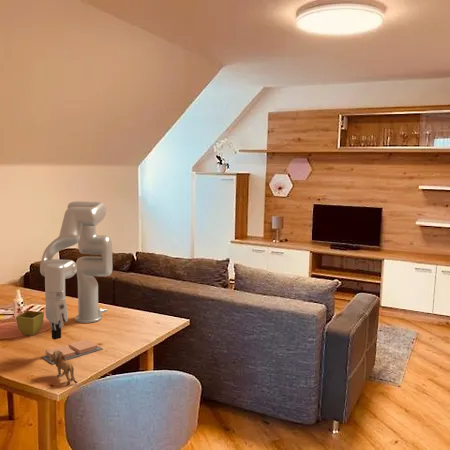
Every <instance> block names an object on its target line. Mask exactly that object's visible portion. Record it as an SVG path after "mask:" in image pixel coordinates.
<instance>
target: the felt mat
mask: <svg viewBox="0 0 450 450" xmlns="http://www.w3.org/2000/svg"><path fill="white" fill-rule="evenodd" d="M102 350H104V348H103V347H101V346H99V345H97V349H95V350H92V351H89V352H85V353H82V354H79V353H77V352H75V356H72V357H69V358H66V359H67V361H70V360H73V359H77V358H79V357H82V356H86V355H89V354H92V353H96V352H99V351H102ZM73 351H74V350H73ZM41 358H42V359H43V360H44V361H46V362H48V363H49V364H51V365H52V366H53V365H56V364H55V363H54V361H53V362H51V361H50V359H49V356H48V355H46V354H45V355H43V356H41Z"/></svg>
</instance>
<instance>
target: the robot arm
mask: <svg viewBox="0 0 450 450" xmlns="http://www.w3.org/2000/svg"><path fill="white" fill-rule="evenodd" d="M106 213H107V208H106V206H105V204H104V202H101V201H82V200H81V201H78V200H77V201H71V202H69V203H68V204H67V209H66V210H65V212H64V215H63V218H62V224H61V228H60V231H59V235H58V237H56V238H55V239H53V241H51V242H50V243H49V244H48V245H47V246H46V247H45V249H44V250H43V252H42V253H43V254H42V257H41V260H40V264H39V272H40V274H41V276H42V277H44V289H45V290H44V291H45V296H44V297H45V317H46V320H47V321H48V322H49V323H50V329H51V339H52V340H54V341H56V340H58V339H59V340H60V339H61V338H62V328H64V325H65V324H64V323H67V322H68V320H69V319H68V316H69V315H68V307H67V301H66V279H70V278H72V277H74V276H75V275H76V277H77V299H78V300H77V301H78V303H77V304H78V307H77V312H78V314H77V315H76V316H75V317H74V318H75V322H78V323H81V324H89V323H90V324H91V323H96V322H99V321H101V320H102V314H104V313H107V312H108V309H107V307H106V308H100V307H99V283H98V281H97V279H96V278H95V277H109V276H111V274H112V272H113V243H112V239H111V237H110V236H108V235H105V234H101V235H100V234H97V231H96V230H97V229H96V227H97V225H99V224H100V223H101V222H102V221H103V220H104V218H105V216H106ZM76 244H77V247H78V252H79V253H80V254H83V255H85V256H81V257H78V258H77V260H76V262H75V261H74V260H72V259H58V258H57V259H54V258H53V257H54V256H55V255H56V254H58V252H60V251H62V250H65V249H68V248H70V247H73V246H75V245H76ZM86 255H87V256H86ZM88 255H89V256H88ZM91 255H95V256H91ZM97 255H99V256H97Z"/></svg>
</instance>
